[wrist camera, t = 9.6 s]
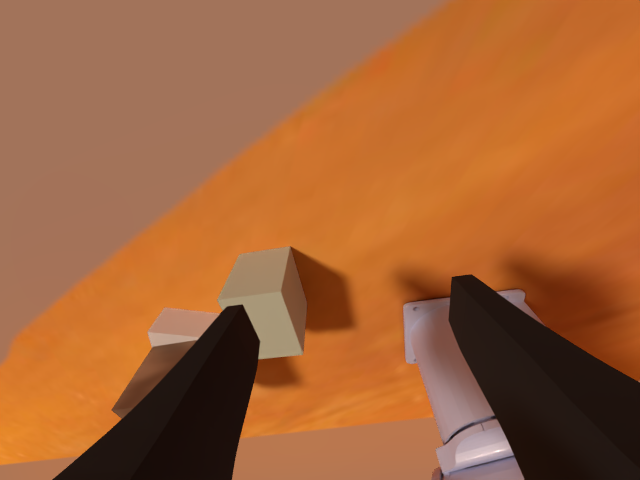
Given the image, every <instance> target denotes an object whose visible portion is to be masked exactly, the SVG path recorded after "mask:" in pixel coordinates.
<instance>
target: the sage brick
mask: <svg viewBox="0 0 640 480" xmlns="http://www.w3.org/2000/svg"><path fill="white" fill-rule="evenodd" d="M217 301H218V303H219V305H220V307H221V308H222V310H224V309H225V308H226V307H227V306H233V305H241V304H243V306H244V308H245V310H246V312H247V314H248V316H249V318H250V321H251V323H252V325H253V327H254V329H255V331H256V333H257V335H258V338H259V340H260V348H259V357H258V359H266V358H276V357H286V356H295V355H303V351H304V339H305V326H306V314H307V301H306V298H305V294H304V291H303V288H302V284H301V281H300V277H299V274H298V271H297V267H296V264H295V261H294V257H293V254H292V250H291V247H290V246H289V247H283V248H276V249H270V250H263V251H256V252H250V253H243V254H239V256H238V258H237V260H236V262H235V264H234V267H233V269H232V271H231V273H230V275H229V277H228V279H227V281H226V283H225V285H224V287H223V289H222V291H221V293H220V295H219V297H218V299H217Z"/></svg>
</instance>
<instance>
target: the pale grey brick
mask: <svg viewBox="0 0 640 480" xmlns="http://www.w3.org/2000/svg"><path fill="white" fill-rule="evenodd" d="M219 314H220V313H211V312H201V311H192V310H183V309H174V308H164V309H163V310H162V312H161V313H160V315H159V316H158V318H157V319H156V320H155V322H154V323H153V325H152V326H151V327H150V329H149V330H148V336H149V339H150V342H151V346H152V348H153V347H154V346H160V345H167V344H173V343H180V342H187V341H193V340H198V339H199V338H200V337H201V335H202V334H203V333H204V332H205V331H206V330H207V328H208V327H209V326H210V325H211V324H212V323H213V321H214V320H215V319H216V318H217V317H218V316H219Z"/></svg>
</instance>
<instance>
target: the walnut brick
mask: <svg viewBox="0 0 640 480" xmlns="http://www.w3.org/2000/svg"><path fill="white" fill-rule="evenodd" d="M196 341H197V340H193V341H187V342H180V343H173V344H167V345H160V346H154V347H153V348H152V349H151V351H150V352H149V354H148V355H147V357H146V358H145V360H144V361H143V363H142V364H141V366H140V367H139V369H138V370H137V372H136V373H135V375H134V376H133V378H132V380H131V381H130V383H129V384H128V386H127V387H126V389H125V390H124V392H123V393H122V395H121V396H120V398H119V399H118V401H117V402H116V404H115V405H114V407H113V408H112V411H113V412H114V413H116V414H117V415H118V416H119V417H120V418H124V417H125V416H126V415H127V414H128V413H129V412H130V411H131V410H132V409H133V408H134V407H135V406H136V405H137V404H138V403H139V402H140V401H141V400H142V399H143V398H144V397H145V396H146V395H147V394H148V393H149V392H150V391H151V390H152V389H153V388H154V387H155V386H156V385H157V384H158V383H159V382H160V381H161V380H162V379H163V377H164V376H165V375H166V374H167V373H168V372H169V371H170V370H171V369H172V368H173V367H174V366H175V365H176V364H177V363H178V361H179V360H180V359H181V358H182V357H183V356H184V355H185V354H186V352H187V351H188V350H189V349H190V348H191V347H192V346H193V345H194V343H195V342H196Z"/></svg>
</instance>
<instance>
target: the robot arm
mask: <svg viewBox="0 0 640 480" xmlns="http://www.w3.org/2000/svg"><path fill="white" fill-rule="evenodd" d="M524 299H525V293H524V292H523V291H522V290H521V289H515V290H507V291H499V292H495V291H494V290H493V289H491V288H490V287H488V286H487V285H486V284H484V283H483V282H482V281H480V280H479V279H477V278H476V277H475V276H473V275H472V274H471V275H463V276H455V277H452V282H451V294H450V297H449V298H441V299H433V300H425V301H417V302H409V303H406V304H405V305H404V306H403V317H404V341H405V359H406V362H407V363H409V364H413V363H417V364H418V367H419V370H420V373H421V376H422V379H423V382H424V385H425V389H426V392H427V395H428V398H429V401H430V404H431V407H432V410H433V414H434V417H435V420H436V423H437V426H438V429H439V432H440V435H441V438H442V441H443V444H444V445H443V446H441V447H438V448H436V453H437V456H438V460H439V463H440V467H438V468H436V469H435V470H434V472H433V474H432V479H431V480H640V383H639V382H638V381H636V380H634V379H632V378H630V377H629V376H627V375H625V374H623V373H622V372H620V371H618V370H616V369H614V368H613V367H611V366H609V365H607V364H606V363H604V362H602V361H600V360H599V359H597V358H595V357H594V356H592V355H590V354H589V353H587V352H585V351H584V350H582V349H581V348H579V347H577V346H576V345H574V344H573V343H571V342H569V341H568V340H566V339H565V338H563V337H561V336H560V335H558V334H557V333H555V332H554V331H552V330H550V329H549V328H547V327H546V326H545V325H544V323H543V322H542V321H541V320H540V319H539V318H538V317H537V316H536V314H535V313H534V312H533V311H532V310H531V309H530V308H529V306H528V305H527V304H526V303H525V302H524ZM414 307H416V308H414ZM259 348H260V340H259V338H258V335H257V333H256V331H255V329H254V327H253V325H252V323H251V321H250V318H249V316H248V314H247V312H246V310H245V308H244V306H243V304H241V305H233V306H227V307H226V308H225V309H224V310H223V311H222V312H221V313H220V314H219V316H218V317H217V318H216V319H215V320H214V321H213V323H212V324H211V325H210V326H209V327H208V328H207V330H206V331H205V332H204V333H203V334H202V335H201V337H200V338H199V339H198V340H197V341H196V342H195V343H194V345H193V346H192V347H191V348H190V349H189V350H188V351H187V352H186V354H185V355H184V356H183V357H182V358H181V359H180V360H179V361H178V363H177V364H176V365H175V366H174V367H173V368H172V369H171V370H170V371H169V372H168V373H167V374H166V375H165V376H164V377H163V379H162V380H161V381H160V382H159V383H158V384H157V385H156V386H155V387H154V388H153V389H152V390H151V391H150V392H149V393H148V394H147V395H146V396H145V397H144V398H143V399H142V400H141V401H140V402H139V403H138V404H137V405H136V406H135V407H134V408H133V409H132V410H131V411H130V412H129V413H128V414H127V415H126V416H125V417H124V418H122V419H121V420H120V421H119V422H118V423H117V424H116V425H115V426H114V427H113V428H112V429H111V430H110V431H108V432H107V433H106V434H105V435H104V436H103V437H102V438H101V439H99V440H98V441H97V442H96V443H95V444H94V445H92V446H91V447H90V448H89V449H88V450H87V451H85V452H84V453H83V454H82V455H81V456H80V457H79V458H78V459H76V460H75V461H74V462H73V463H72V464H70V465H69V466H68V467H67V468H66V469H65V470H63V471H62V472H61V473H60V474H59V475H58V476H56V477H55V478H54V479H53V480H232V475H233V468H234V462H235V457H236V452H237V447H238V443H239V439H240V435H241V431H242V427H243V423H244V419H245V415H246V411H247V407H248V403H249V399H250V395H251V391H252V387H253V383H254V379H255V375H256V371H257V364H258V357H259Z"/></svg>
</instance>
